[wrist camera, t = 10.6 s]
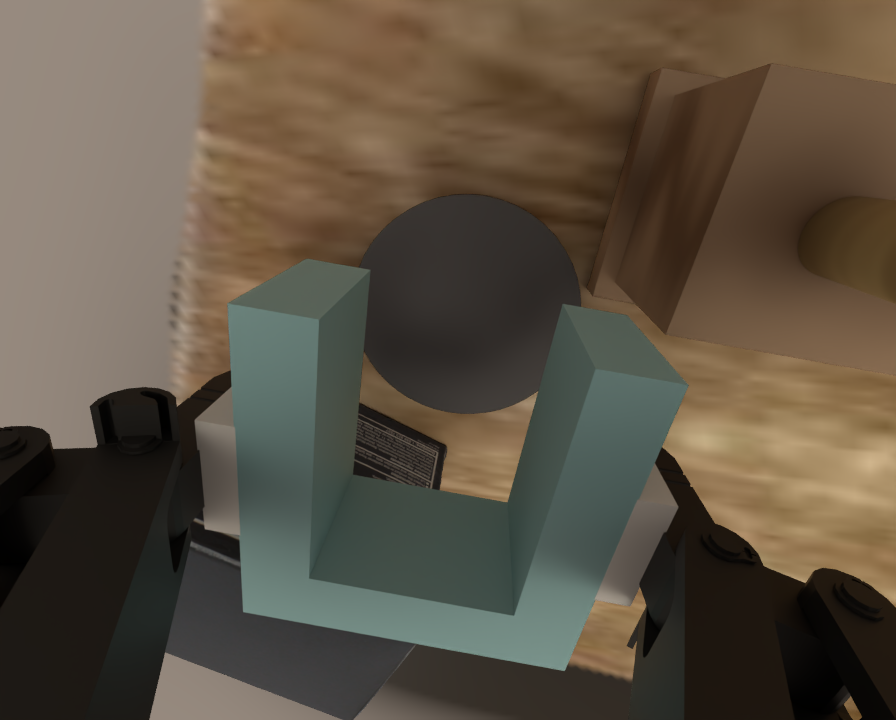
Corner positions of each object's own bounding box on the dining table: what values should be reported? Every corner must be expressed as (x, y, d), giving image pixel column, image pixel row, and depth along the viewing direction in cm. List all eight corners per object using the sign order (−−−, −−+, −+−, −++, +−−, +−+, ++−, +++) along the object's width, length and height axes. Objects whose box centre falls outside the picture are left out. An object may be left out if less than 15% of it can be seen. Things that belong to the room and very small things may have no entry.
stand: (650, 73, 16) (1027, -122, 5) (873, 111, 16) (1801, 4, 5) (587, 288, 20) (720, 472, 8) (770, 321, 19) (1165, 553, 8)
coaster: (365, 174, 18) (361, 175, 18) (608, 217, 18) (611, 219, 18) (349, 387, 23) (345, 393, 22) (546, 423, 22) (548, 430, 22)
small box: (228, 447, 25) (65, 627, 15) (262, 353, 22) (92, 500, 13) (399, 525, 26) (348, 736, 17) (452, 445, 24) (425, 641, 14)
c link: (306, 258, 10) (228, 303, 7) (626, 315, 10) (688, 385, 7) (300, 505, 14) (243, 611, 10) (546, 549, 14) (564, 670, 10)
